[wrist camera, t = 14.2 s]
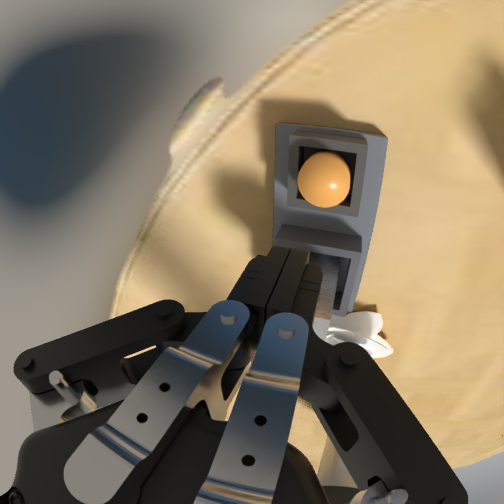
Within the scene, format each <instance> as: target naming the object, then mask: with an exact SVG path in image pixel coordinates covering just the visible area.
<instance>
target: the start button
mask: <svg viewBox="0 0 504 504" xmlns="http://www.w3.org/2000/svg"><path fill="white" fill-rule="evenodd" d="M297 182H298V188H299V191H300V193H301V194H302V196H303V197H304V198H305V199H306V200H307V201H308V202H309V203H311V204H313V205H315V206H318V207H323V208H328V207H333V206H336V205H338V204H339V203H341V202H342V201H343V200H344V199H345V198H346V196H347V194H348V192H349V188H350V166H349V163H348V162H347V160H346V159H345V157H344V156H343V155H341V154H340V153H339V152H337V151H334V150H330V149H321V150H318V151H316V152H314V153H312V154H311V155H310V156H309V157H308V159H307V160H306V162H305V163H304V165H303V166H302V168H301V169H300V171H299V174H298V179H297Z"/></svg>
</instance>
